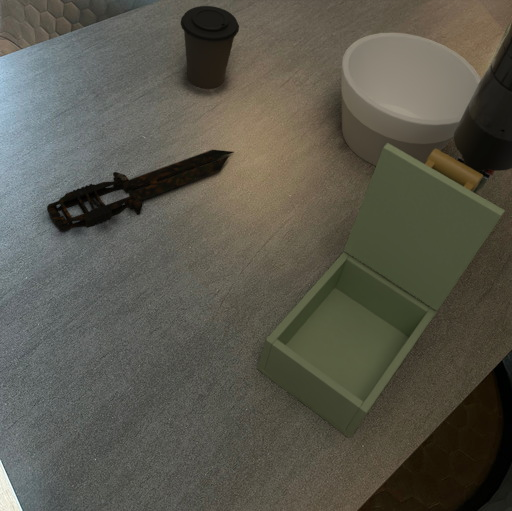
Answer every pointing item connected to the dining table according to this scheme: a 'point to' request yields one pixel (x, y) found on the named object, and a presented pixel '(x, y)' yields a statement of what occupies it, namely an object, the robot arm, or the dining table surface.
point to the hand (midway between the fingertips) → (444, 221)
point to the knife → (128, 185)
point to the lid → (421, 222)
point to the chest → (344, 342)
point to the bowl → (403, 94)
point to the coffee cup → (208, 44)
